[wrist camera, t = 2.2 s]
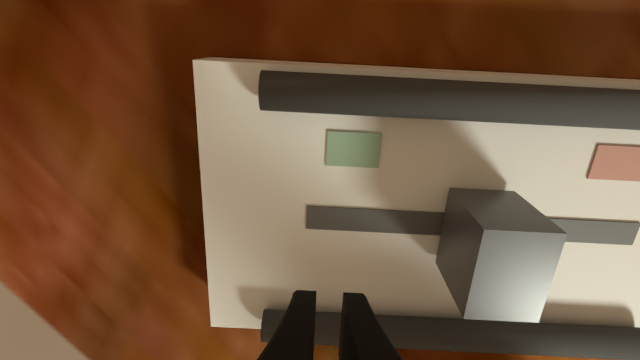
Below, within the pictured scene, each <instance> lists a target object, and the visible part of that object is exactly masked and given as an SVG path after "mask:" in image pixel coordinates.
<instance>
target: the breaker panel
mask: <svg viewBox="0 0 640 360" xmlns="http://www.w3.org/2000/svg"><path fill="white" fill-rule="evenodd" d="M261 70H270V71H289V72H308V73H327V74H347V75H366V76H385V77H404V78H423V79H442V80H461V81H480V82H499V83H519V84H538V85H557V86H576V87H595V88H614V89H633V90H640V80H638V79H619V78H600V77H581V76H562V75H543V74H524V73H505V72H486V71H467V70H447V69H428V68H409V67H390V66H371V65H352V64H333V63H314V62H295V61H276V60H257V59H238V58H219V57H207V58H201V59H195V60H193V74H194V88H195V103H196V117H197V132H198V146H199V160H200V175H201V189H202V204H203V218H204V233H205V247H206V262H207V276H208V291H209V305H210V320H211V327H231V328H252V329H261V322H262V315H263V311H264V309H275V310H287V308H288V306H289V303H290V301H291V298H292V295H293V293H294V292H295V291H296V290H308V291H316V312H336V313H342V301H343V292H349V293H363V294H364V295H365V296H366V298H367V300H368V302H369V304H370V306H371V308H372V310H373V312H374V314H376V315H397V316H417V317H437V318H458V319H463V317H462V315H461V313H460V311H459V309H458V307H457V305H456V303H455V301H454V299H453V297H452V295H451V293H450V291H449V289H448V287H447V285H446V283H445V281H444V279H443V277H442V275H441V273H440V271H439V269H438V267H437V265H436V263H435V262H436V256H437V251H438V246H439V240H440V235H441V230H442V224H443V219H444V213H445V208H446V203H447V197H448V192H449V188H465V189H485V190H504V191H515V192H516V193H518V194H519V195H520V196H521V197H523V198H524V199H525V200H526V201H528V202H529V203H530V204H531V205H532V206H534V207H535V208H536V209H537V210H539V211H540V212H541V213H542V214H544V215H545V216H546V217H547V218H549V219H550V220H551V221H552V222H554V223H555V224H556V225H557V226H559V227H560V228H561V229H562V230H563V231H565V232H566V233H567V237H566V240H565V243H564V246H563V249H562V252H561V256H560V259H559V262H558V265H557V268H556V271H555V274H554V277H553V280H552V283H551V286H550V290H549V293H548V296H547V299H546V302H545V305H544V308H543V311H542V314H541V317H540V320H539V323H559V324H580V325H600V326H620V327H640V130H628V129H608V128H589V127H570V126H551V125H531V124H512V123H493V122H473V121H454V120H435V119H415V118H396V117H377V116H358V115H338V114H319V113H300V112H280V111H261V110H260V107H259V99H258V85H259V75H260V72H261Z"/></svg>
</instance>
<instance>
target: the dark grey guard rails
mask: <svg viewBox="0 0 640 360" xmlns="http://www.w3.org/2000/svg"><path fill="white" fill-rule="evenodd" d="M258 99H259V107H260V110H261V111H280V112H300V113H319V114H338V115H358V116H377V117H396V118H415V119H435V120H454V121H473V122H493V123H512V124H531V125H551V126H570V127H589V128H608V129H628V130H640V90H633V89H614V88H595V87H576V86H557V85H538V84H519V83H499V82H480V81H461V80H442V79H423V78H404V77H385V76H366V75H347V74H327V73H308V72H289V71H270V70H261V72H260V75H259V85H258ZM285 312H286V310H275V309H264V311H263V315H262V322H261V342H269V341H270V339H271V338H272V336H273V334H274V333H275V331H276V329H277V327H278V326H279V324H280V322H281V320H282V318H283V316H284V314H285ZM375 316H376V318H377V319H378V321H379V323H380V325H381V327H382V328H383V330H384V332H385V333H386V335H387V336H388V338H389V340H390V341H391V343H392V344H393V346H394V347H395V348H396V349H416V350H437V351H457V352H478V353H498V354H519V355H539V356H560V357H580V358H601V359H621V360H640V327H620V326H600V325H580V324H559V323H533V322H513V321H492V320H472V319H458V318H437V317H417V316H397V315H376V314H375ZM340 324H341V313H336V312H316V316H315V333H314V345H334V346H339V336H340Z"/></svg>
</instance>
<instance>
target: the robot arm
mask: <svg viewBox="0 0 640 360" xmlns="http://www.w3.org/2000/svg"><path fill="white" fill-rule="evenodd" d="M315 316H316V291H308V290H296V291H295V292H294V293H293V295H292V298H291V301H290V303H289V306H288V308H287V310H286V312H285V314H284V316H283V318H282V320H281V322H280V324H279V326H278V327H277V329H276V331H275V333H274V334H273V336H272V338H271V339H270V341H269V343H268V344H267V346H266V347H265V349H264V350H263V352H262V353H261V355H260V356H259V358H258V359H257V360H313V351H314V333H315ZM339 360H403V359H402V358H401V356H400V355H399V353H398V352H397V350H396V349H395V347H394V346H393V344H392V343H391V341H390V340H389V338H388V336H387V335H386V333H385V332H384V330H383V328H382V327H381V325H380V323H379V321H378V319H377V318H376V316H375V314H374V312H373V310H372V308H371V306H370V304H369V302H368V300H367V298H366V296H365V295H364V294H363V293H349V292H343V301H342V313H341V324H340V336H339Z"/></svg>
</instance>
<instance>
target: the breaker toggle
mask: <svg viewBox="0 0 640 360" xmlns="http://www.w3.org/2000/svg"><path fill="white" fill-rule="evenodd" d="M566 237H567V233H566V232H565V231H563V230H562V229H561V228H560V227H559V226H557V225H556V224H555V223H554V222H552V221H551V220H550V219H549V218H547V217H546V216H545V215H544V214H542V213H541V212H540V211H539V210H537V209H536V208H535V207H534V206H532V205H531V204H530V203H529V202H528V201H526V200H525V199H524V198H523V197H521V196H520V195H519V194H518V193H516V192H515V191H504V190H485V189H465V188H449V192H448V197H447V203H446V208H445V213H444V219H443V224H442V230H441V235H440V240H439V246H438V251H437V256H436V262H435V263H436V265H437V267H438V269H439V271H440V273H441V275H442V277H443V279H444V281H445V283H446V285H447V287H448V289H449V291H450V293H451V295H452V297H453V299H454V301H455V303H456V305H457V307H458V309H459V311H460V313H461V315H462V317H463V319H472V320H492V321H513V322H533V323H539V320H540V317H541V314H542V311H543V308H544V305H545V302H546V299H547V296H548V293H549V290H550V286H551V283H552V280H553V277H554V274H555V271H556V268H557V265H558V262H559V259H560V256H561V252H562V249H563V246H564V243H565V240H566Z"/></svg>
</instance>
